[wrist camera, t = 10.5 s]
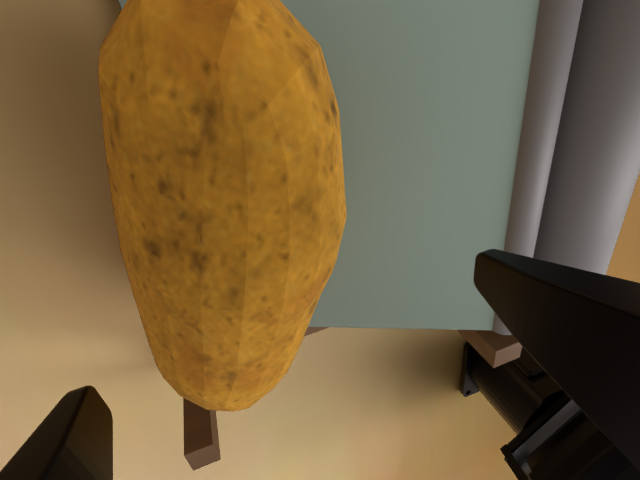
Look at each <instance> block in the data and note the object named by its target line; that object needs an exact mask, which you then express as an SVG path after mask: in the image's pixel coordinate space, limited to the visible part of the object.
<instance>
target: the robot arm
mask: <svg viewBox="0 0 640 480" xmlns="http://www.w3.org/2000/svg"><path fill="white" fill-rule="evenodd" d="M473 280H474V284H475V287H476V288H477V290H478V291H479V293H480V294H481V295H482V297H483V298H484V299H485V300H486V302H487V303H488V304H489V306H490V307H491V308H492V310H493V311H494V312H495V314H496V315H497V316H498V317H499V319H500V320H501V321H502V323H503V324H504V325H505V327H506V328H507V329H508V330H509V332H510V333H511V334H512V335H513V336H514V338H515V339H516V340H517V341H518V342H519V343H520V344H521V345H522V349H521V354H520V357H519V358H517V359H514V360H512V361H509V362H507V363H505V364H502V365H500V366H498V367H495V368H493V367H492V366H491V365H490V364H489V363H488V362H487V361H486V360H485V359H484V358H483V357H482V356H481V355H480V354H479V353H478V352H477V351H476V349H475V348H474V347H473V346H472V345H471V344H470V343H469V342H468V343H467V344H466V345H465V348H464V359H463V369H462V380H461V393H462V394H463V396H464V397H467V396H469V395H472V394H474V393H476V392H479V391H480V392H481V393H482V394H483V395H484V397H485V398H486V399H487V400H488V401H489V402H490V404H491V405H492V406H493V407H494V408H495V409H496V411H497V412H498V413H499V414H500V415H501V416H502V417H503V419H504V420H505V421H506V422H507V423H508V424H509V426H510V427H511V428H512V429H513V430H514V431H515V433H516V434H517V436H516V437H515V438H514V439H513V440H512V441H510V442H509V443H508V444H507V445H506V444H505V445H504V446H503V447H502V448H501V449H500V450H501V451H502V453H503V454H504V456H505V459H504V460H505V461H506V462H507V463H508V465H509V466H510V468H511V469H512V471H513V472H514V474H515V475H516V477H517V478H518V480H640V283H637V282H633V281H628V280H624V279H620V278H616V277H612V276H607V275H603V274H599V273H595V272H590V271H586V270H582V269H578V268H573V267H569V266H565V265H561V264H557V263H552V262H548V261H544V260H540V259H535V258H531V257H527V256H523V255H519V254H514V253H510V252H506V251H502V250H497V249H488V250H485V251H483V252H480V253H478V254H477V255H476V258H475V267H474V277H473ZM0 480H113V420H112V414H111V411H110V409H109V407H108V406H107V405H106V403H105V402H104V400H103V399H102V398H101V396H100V395H99V393H98V392H97V391H96V389H95V388H94V387H93V386H84V387H81V388H78V389H75V390H72V391H70V392H68V393H67V394H66V395H65V396H64V397H63V398H62V399H61V400H60V401H59V403H58V404H57V405H56V406H55V407H54V408H53V410H52V411H51V412H50V413H49V414H48V416H47V417H46V418H45V419H44V420H43V422H42V423H41V424H40V425H39V426H38V427H37V429H36V430H35V431H34V432H33V433H32V435H31V436H30V437H29V438H28V439H27V441H26V442H25V443H24V444H23V445H22V446H21V448H20V449H19V450H18V451H17V452H16V454H15V455H14V456H13V457H12V458H11V460H10V461H9V462H8V463H7V464H6V465H5V467H4V468H3V469H2V470H1V471H0Z"/></svg>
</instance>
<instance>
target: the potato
mask: <svg viewBox="0 0 640 480" xmlns="http://www.w3.org/2000/svg"><path fill="white" fill-rule="evenodd" d="M98 75H99V86H100V98H101V109H102V121H103V132H104V143H105V151H106V158H107V166H108V174H109V181H110V189H111V197H112V204H113V209H114V215H115V221H116V226H117V232H118V238H119V243H120V249H121V253H122V256H123V260H124V263H125V267H126V270H127V274H128V277H129V281H130V284H131V288H132V291H133V295H134V298H135V301H136V304H137V308H138V311H139V314H140V317H141V320H142V324H143V327H144V330H145V333H146V336H147V339H148V342H149V345H150V348H151V351H152V354H153V356H154V359H155V362H156V365H157V367H158V369H159V371H160V372H161V374H162V376H163V378H164V379H165V380H166V381H167V382H168V383H169V384H170V385H171V386H172V387H173V389H174V390H175V391H176V392H177V393H178V394H179V395H180V396H181V397H183V398H185V399H187V400H189V401H191V402H193V403H195V404H197V405H198V406H200V407H202V408H204V409H206V410H216V411H237V410H241V409H246V408H249V407H251V406H252V405H253V404H254V403H255V402H257V401H258V400H259V399H260V398H262V397H263V396H264V395H265V394H267V393H268V392H269V391H270V390H272V389H273V388H274V387H275V386H276V384H277V383H278V382H279V381H280V380H281V379H282V377H283V376H284V375H285V374H286V373H287V371H288V369H289V367H290V365H291V363H292V361H293V359H294V357H295V355H296V353H297V351H298V349H299V347H300V344H301V342H302V340H303V337H304V335H305V332H306V330H307V327H308V325H309V323H310V320H311V318H312V315H313V313H314V310H315V308H316V305H317V303H318V300H319V298H320V295H321V293H322V291H323V289H324V287H325V285H326V283H327V281H328V279H329V278H330V276H331V274H332V271H333V269H334V266H335V263H336V260H337V256H338V251H339V247H340V243H341V239H342V234H343V230H344V226H345V222H346V217H347V215H346V200H345V186H344V172H343V158H342V144H341V129H340V115H339V107H338V104H337V101H336V97H335V94H334V90H333V87H332V84H331V80H330V77H329V73H328V70H327V66H326V63H325V60H324V56H323V53H322V49H321V46H320V44H319V43H318V42H317V41H316V40H315V39H314V38H313V37H312V36H311V34H310V33H309V32H308V31H307V30H306V29H305V28H304V27H303V26H302V24H301V23H300V22H299V21H298V20H297V19H296V18H295V17H294V16H293V14H292V13H291V12H290V11H289V10H288V9H287V8H286V7H285V6H284V4H283V3H282V2H281V1H280V0H127V2H126V4H125V5H124V7H123V9H122V10H121V12H120V14H119V16H118V17H117V19H116V21H115V22H114V24H113V26H112V28H111V29H110V31H109V33H108V34H107V36H106V38H105V39H104V41H103V43H102V45H101V46H100V56H99V66H98Z"/></svg>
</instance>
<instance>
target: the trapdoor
mask: <svg viewBox="0 0 640 480" xmlns="http://www.w3.org/2000/svg"><path fill="white" fill-rule="evenodd" d="M280 1H281V2H282V3H283V4H284V6H285V7H286V8H287V9H288V10H289V11H290V12H291V13H292V14H293V16H294V17H295V18H296V19H297V20H298V21H299V22H300V23H301V24H302V26H303V27H304V28H305V29H306V30H307V31H308V32H309V33H310V34H311V36H312V37H313V38H314V39H315V40H316V41H317V42H318V43H319V44H320V46H321V49H322V53H323V56H324V60H325V63H326V66H327V70H328V73H329V77H330V80H331V84H332V87H333V90H334V94H335V97H336V101H337V104H338V107H339V115H340V129H341V144H342V158H343V172H344V186H345V200H346V215H347V217H346V222H345V226H344V230H343V234H342V239H341V243H340V247H339V251H338V256H337V260H336V263H335V266H334V269H333V271H332V274H331V276H330V278H329V279H328V281H327V283H326V285H325V287H324V289H323V291H322V293H321V295H320V298H319V300H318V303H317V305H316V308H315V310H314V313H313V315H312V318H311V320H310V323H309V325H308V327H349V328H400V329H451V330H492V331H494V332H496V333H498V334H501V335H512V334H511V333H510V332H509V330H508V329H507V328H506V327H505V325H504V324H503V323H502V321H501V320H500V319H499V317H498V316H497V315H496V314H495V312H494V311H493V310H492V308H491V307H490V306H489V304H488V303H487V302H486V300H485V299H484V298H483V297H482V295H481V294H480V293H479V291H478V290H477V288H476V287H475V284H474V280H473V277H474V267H475V258H476V255H477V254H478V253H480V252H483V251H485V250H488V249H497V250H502V251H506V252H510V253H514V254H519V255H523V256H527V257H531V258H535V259H540V260H544V261H548V262H552V263H557V264H561V265H565V266H569V267H573V268H578V269H582V270H586V271H590V272H595V273H599V274H603V275H606V272H607V269H608V266H609V263H610V260H611V257H612V254H613V251H614V248H615V245H616V242H617V239H618V235H619V232H620V229H621V226H622V223H623V220H624V217H625V214H626V211H627V208H628V205H629V202H630V199H631V196H632V193H633V190H634V187H635V184H636V181H637V178H638V175H639V172H640V0H280ZM126 2H127V0H119V3H120V6H121V8H122V9H123V7H124V5H125V4H126Z"/></svg>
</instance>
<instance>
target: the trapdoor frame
mask: <svg viewBox="0 0 640 480" xmlns="http://www.w3.org/2000/svg"><path fill="white" fill-rule="evenodd" d="M326 328H329V327H307V330H306V332H305V335H304V336H306V335H309V334H312V333H314V332H317V331H320V330H323V329H326ZM457 331H458V332H459V333H460V334H461V335H462V336H463V337H464V338H465V339H466V340H467V341H468V342H469V343H470V344H471V345H472V346H473V347H474V348H475V349H476V351H477V352H478V353H479V354H480V355H481V356H482V357H483V358H484V359H485V360H486V361H487V362H488V363H489V364H490V365H491V366H492V367H493V368H495V367H498V366H500V365H502V364H505V363H507V362H509V361H512V360H514V359H517V358H519V357H520V354H521V349H522V345H521V344H520V343H519V342H518V341H517V340H516V339H515V338H514V336H513V335H501V334H498V333H496V332H494V331H492V330H457ZM183 401H184V456H185V458H186V459H187V461H188V463H189V464H190V466H191V468H192V469H193V470H196V469H198V468H201V467H203V466H206V465H208V464H211V463H213V462H215V461H218V460H220V449H219V439H218V429H217V419H216V410H206V409H204V408H202V407H200V406H198V405H197V404H195V403H193V402H191V401H189V400H187V399H185V398H183Z"/></svg>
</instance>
